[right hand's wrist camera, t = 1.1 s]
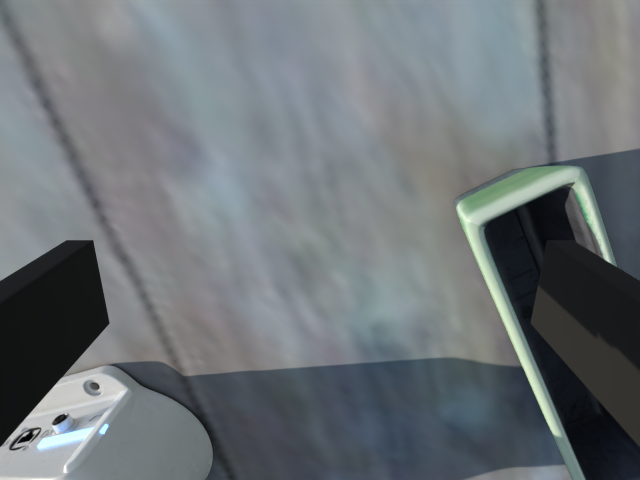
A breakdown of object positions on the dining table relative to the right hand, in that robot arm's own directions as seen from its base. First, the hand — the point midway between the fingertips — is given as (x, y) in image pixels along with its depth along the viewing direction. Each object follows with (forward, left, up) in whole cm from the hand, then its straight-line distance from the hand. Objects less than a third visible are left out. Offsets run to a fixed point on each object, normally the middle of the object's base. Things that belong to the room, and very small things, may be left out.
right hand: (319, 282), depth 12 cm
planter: (-5, +21, -19) cm, 29 cm away
